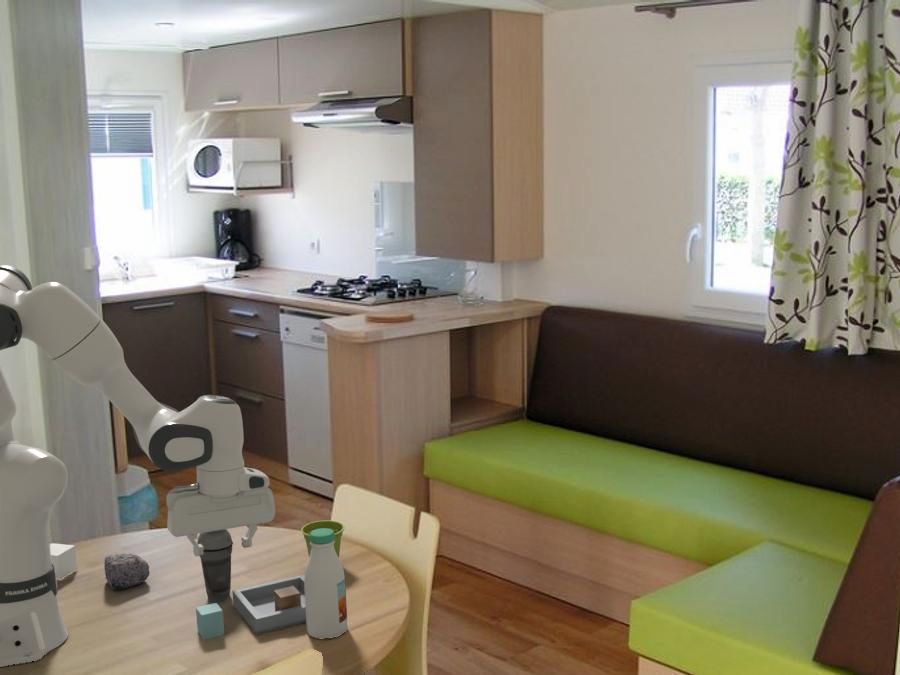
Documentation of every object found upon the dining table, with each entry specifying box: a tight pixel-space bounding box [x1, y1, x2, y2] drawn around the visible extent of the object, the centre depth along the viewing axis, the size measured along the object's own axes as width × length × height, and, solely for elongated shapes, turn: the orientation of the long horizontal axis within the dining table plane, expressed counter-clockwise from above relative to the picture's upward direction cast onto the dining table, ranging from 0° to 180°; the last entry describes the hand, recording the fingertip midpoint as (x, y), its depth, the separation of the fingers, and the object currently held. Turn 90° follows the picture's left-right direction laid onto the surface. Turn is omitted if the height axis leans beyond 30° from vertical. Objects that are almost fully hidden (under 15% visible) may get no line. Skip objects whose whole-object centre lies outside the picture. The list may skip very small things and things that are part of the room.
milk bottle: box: [303, 528, 348, 639], centre depth 205 cm, size 8×8×20 cm
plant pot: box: [300, 519, 345, 559], centre depth 238 cm, size 9×9×9 cm
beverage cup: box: [196, 529, 234, 603], centre depth 222 cm, size 7×7×20 cm
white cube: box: [50, 542, 78, 579], centre depth 238 cm, size 6×6×6 cm
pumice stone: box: [103, 553, 150, 591], centre depth 231 cm, size 10×8×10 cm
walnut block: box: [274, 586, 301, 612], centre depth 213 cm, size 4×4×5 cm
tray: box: [231, 574, 307, 636], centre depth 216 cm, size 15×15×3 cm
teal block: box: [195, 602, 225, 641], centre depth 208 cm, size 4×4×5 cm
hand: (223, 550), depth 207 cm, fingers open, 8 cm apart
